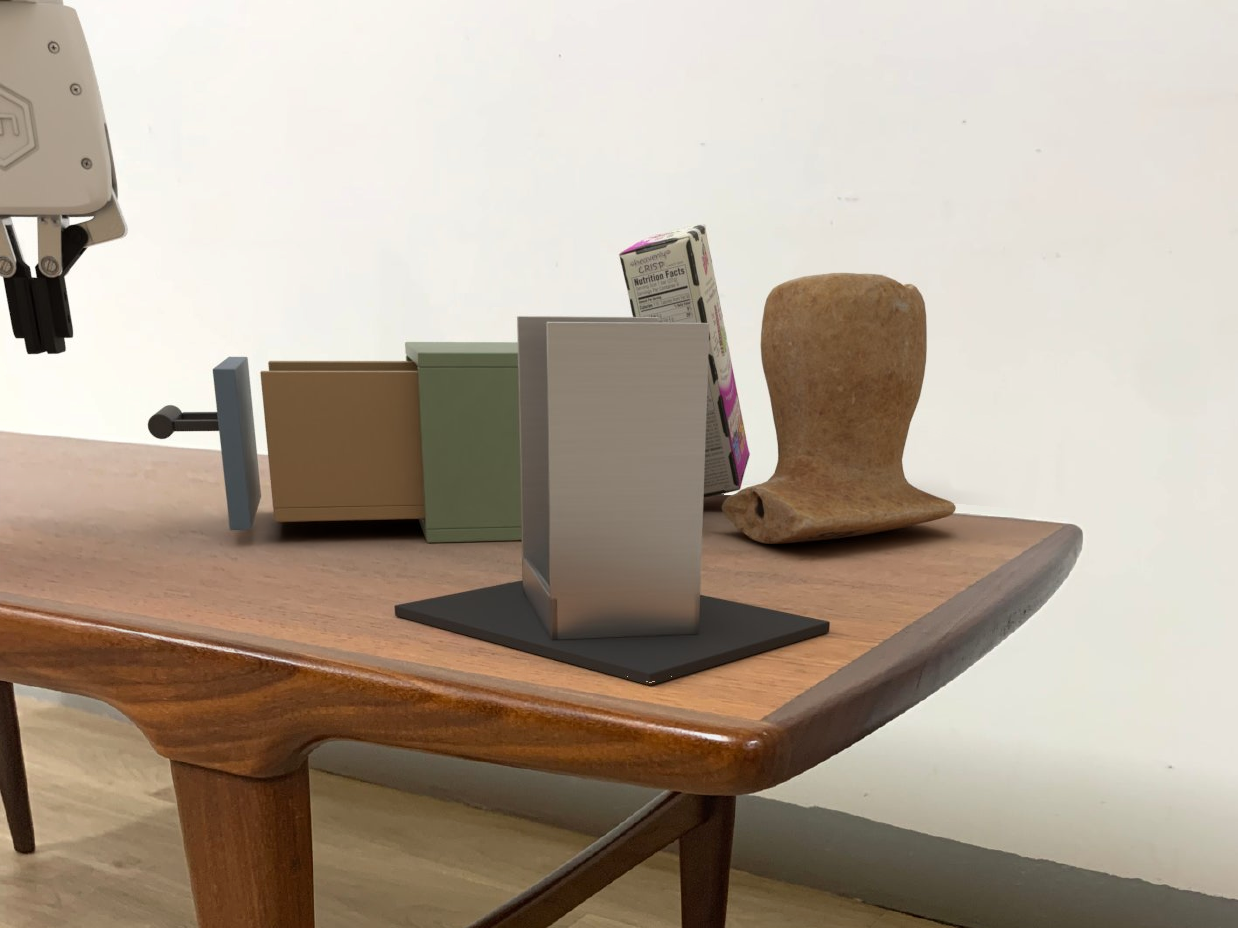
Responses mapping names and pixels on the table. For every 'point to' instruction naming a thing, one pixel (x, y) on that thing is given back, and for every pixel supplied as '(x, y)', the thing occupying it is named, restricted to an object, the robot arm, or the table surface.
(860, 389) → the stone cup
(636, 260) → the candy bar box
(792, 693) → the table surface
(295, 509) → the drawer
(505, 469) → the cabinet
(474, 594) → the desk pad
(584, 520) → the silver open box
